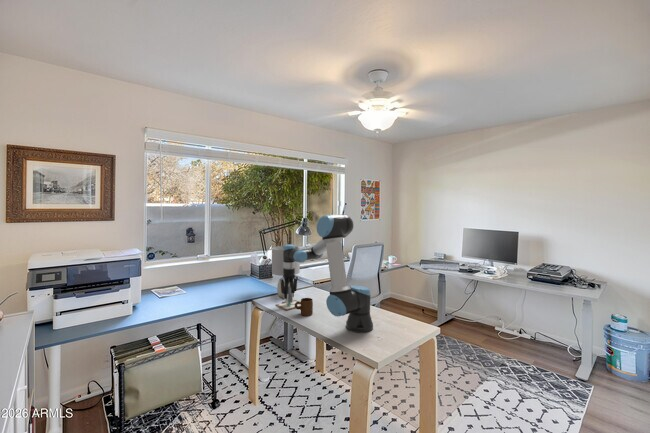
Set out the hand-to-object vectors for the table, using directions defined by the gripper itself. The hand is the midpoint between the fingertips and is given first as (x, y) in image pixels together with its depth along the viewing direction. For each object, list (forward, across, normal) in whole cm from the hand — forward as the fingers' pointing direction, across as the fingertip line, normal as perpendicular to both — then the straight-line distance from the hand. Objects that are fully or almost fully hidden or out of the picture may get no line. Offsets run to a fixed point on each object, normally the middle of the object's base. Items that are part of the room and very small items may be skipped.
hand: (289, 302), depth 209 cm
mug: (+3, 0, +17) cm, 17 cm away
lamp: (+3, -11, -21) cm, 24 cm away
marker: (+2, 0, 0) cm, 2 cm away
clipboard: (+3, -3, -2) cm, 5 cm away
